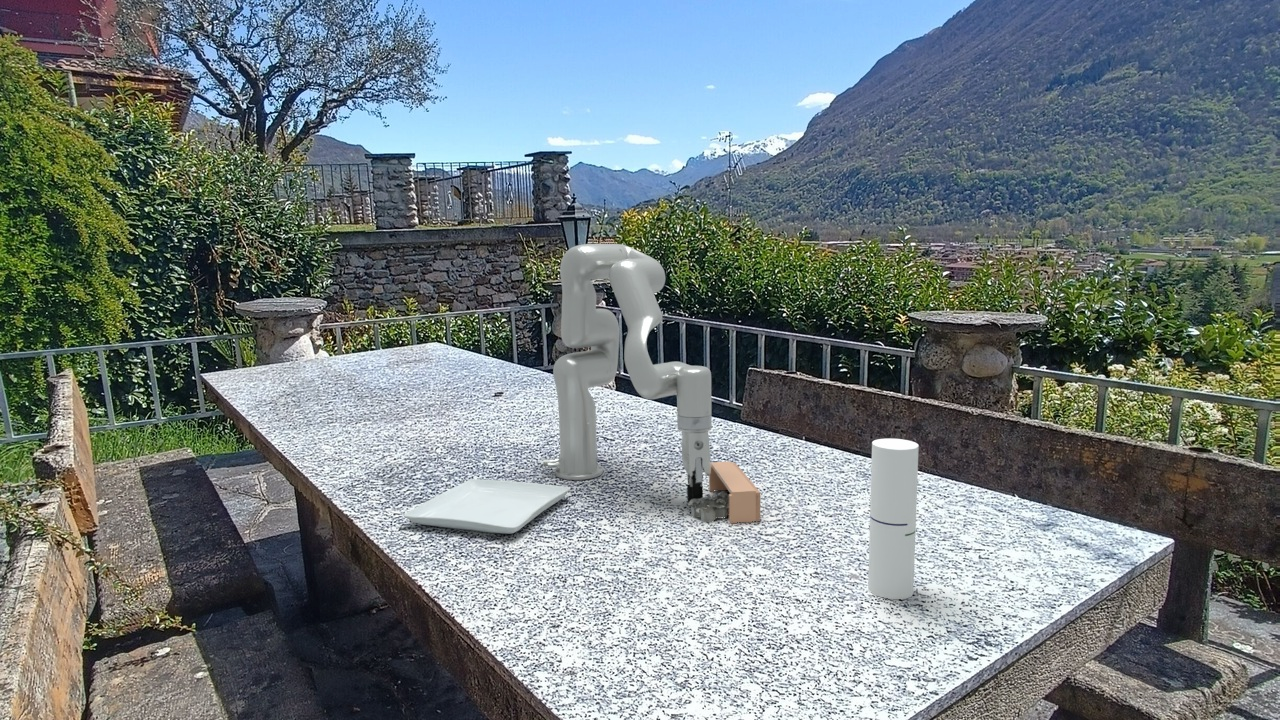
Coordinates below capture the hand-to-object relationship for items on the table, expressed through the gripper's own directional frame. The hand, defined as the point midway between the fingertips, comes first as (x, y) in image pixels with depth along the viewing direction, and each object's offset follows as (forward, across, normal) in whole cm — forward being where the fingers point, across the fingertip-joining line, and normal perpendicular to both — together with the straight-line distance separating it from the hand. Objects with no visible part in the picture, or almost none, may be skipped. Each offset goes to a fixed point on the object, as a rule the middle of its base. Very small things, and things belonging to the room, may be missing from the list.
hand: (695, 502), depth 164 cm
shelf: (+1, 0, -8) cm, 8 cm away
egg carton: (+2, -5, -4) cm, 6 cm away
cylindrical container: (+1, -45, -25) cm, 51 cm away
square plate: (+2, +3, +45) cm, 45 cm away
